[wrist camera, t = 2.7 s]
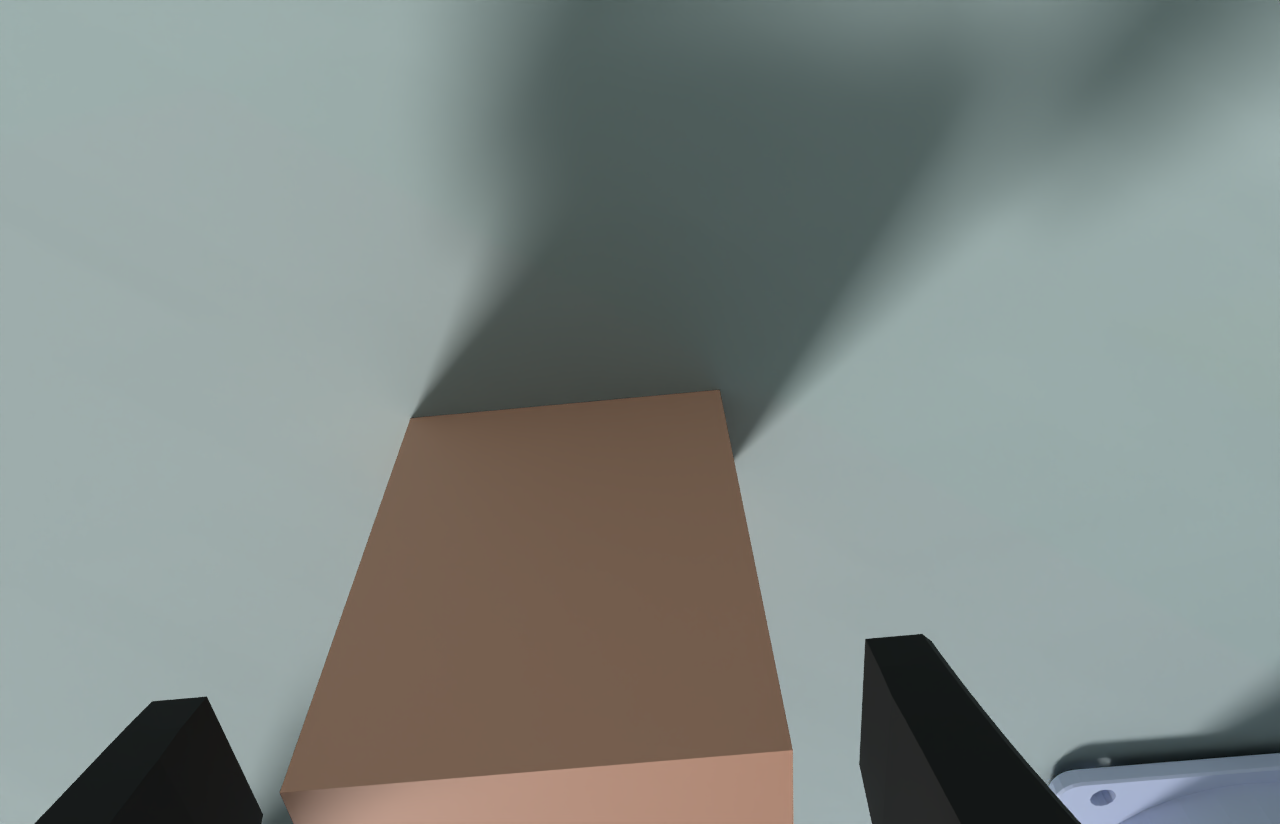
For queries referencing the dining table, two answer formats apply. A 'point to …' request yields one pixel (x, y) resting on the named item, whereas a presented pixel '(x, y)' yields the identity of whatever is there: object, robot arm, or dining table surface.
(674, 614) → the domino
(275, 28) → the dining table surface
